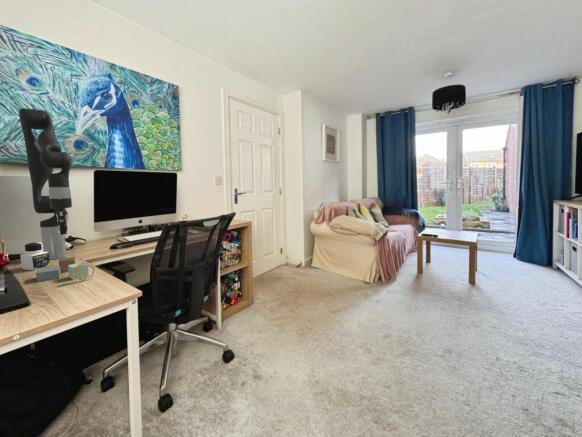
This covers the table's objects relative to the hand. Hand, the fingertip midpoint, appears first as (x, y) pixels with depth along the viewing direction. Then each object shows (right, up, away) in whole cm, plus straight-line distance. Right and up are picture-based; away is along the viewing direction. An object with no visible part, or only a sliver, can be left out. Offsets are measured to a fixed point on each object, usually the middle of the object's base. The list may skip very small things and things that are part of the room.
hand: (64, 232), depth 123 cm
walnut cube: (0, -18, +2) cm, 18 cm away
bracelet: (+18, -20, -10) cm, 28 cm away
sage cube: (+12, -19, -6) cm, 23 cm away
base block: (0, -19, -7) cm, 21 cm away
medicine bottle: (-18, -17, +5) cm, 25 cm away
